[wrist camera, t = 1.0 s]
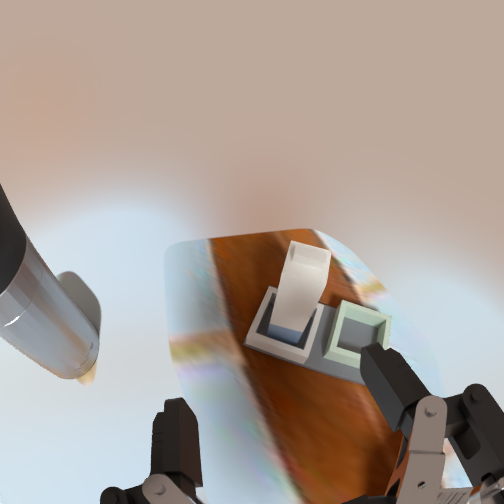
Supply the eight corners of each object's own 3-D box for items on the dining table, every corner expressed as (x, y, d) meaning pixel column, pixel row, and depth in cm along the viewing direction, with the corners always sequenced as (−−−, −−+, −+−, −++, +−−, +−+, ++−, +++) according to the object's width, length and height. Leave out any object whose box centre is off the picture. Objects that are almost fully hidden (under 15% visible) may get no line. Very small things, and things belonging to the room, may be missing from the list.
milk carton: (265, 338, 32) (283, 264, 21) (273, 312, 34) (293, 232, 23) (295, 346, 31) (329, 277, 20) (301, 320, 33) (334, 243, 23)
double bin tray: (243, 345, 32) (243, 335, 29) (269, 287, 37) (271, 274, 35) (372, 387, 28) (384, 381, 26) (384, 326, 34) (393, 316, 31)
